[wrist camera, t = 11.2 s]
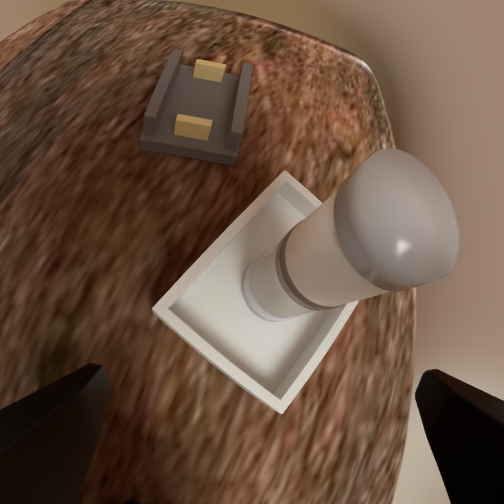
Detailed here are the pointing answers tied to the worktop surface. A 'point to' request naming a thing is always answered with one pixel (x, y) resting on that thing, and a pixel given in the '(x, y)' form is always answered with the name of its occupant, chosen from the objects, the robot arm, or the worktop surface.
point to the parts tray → (237, 312)
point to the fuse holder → (197, 111)
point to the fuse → (359, 242)
